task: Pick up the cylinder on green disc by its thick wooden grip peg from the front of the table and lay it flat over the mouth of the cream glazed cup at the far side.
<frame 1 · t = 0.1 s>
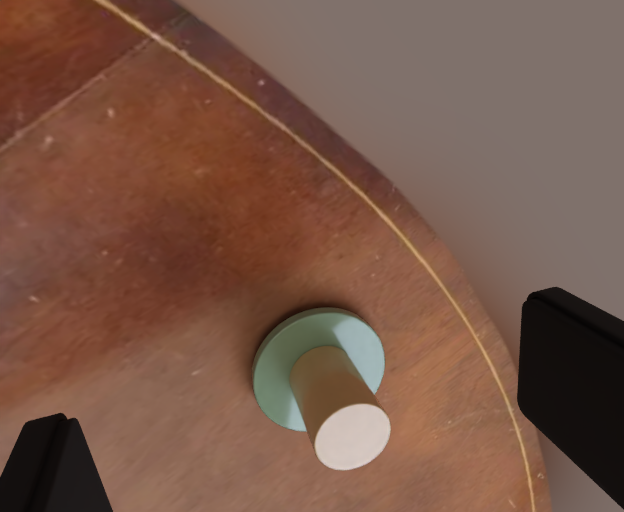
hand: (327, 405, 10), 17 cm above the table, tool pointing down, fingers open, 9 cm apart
cylinder on green disc: (318, 367, 29), point 1 cm above the table
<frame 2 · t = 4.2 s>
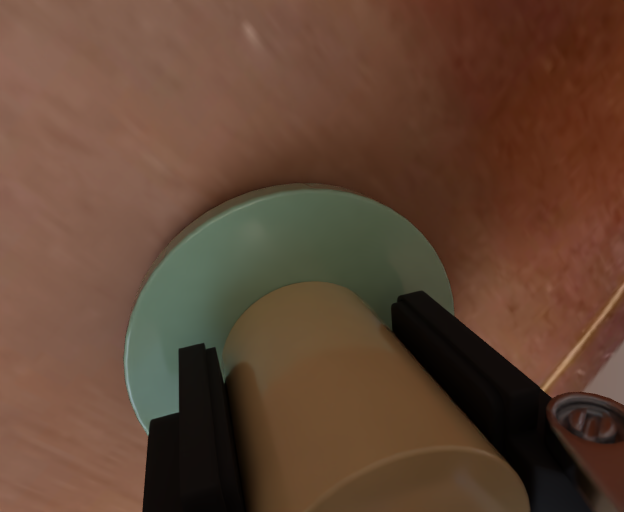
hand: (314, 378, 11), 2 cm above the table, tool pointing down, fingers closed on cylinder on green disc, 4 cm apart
cylinder on green disc: (296, 340, 12), point 1 cm above the table, touching gripper
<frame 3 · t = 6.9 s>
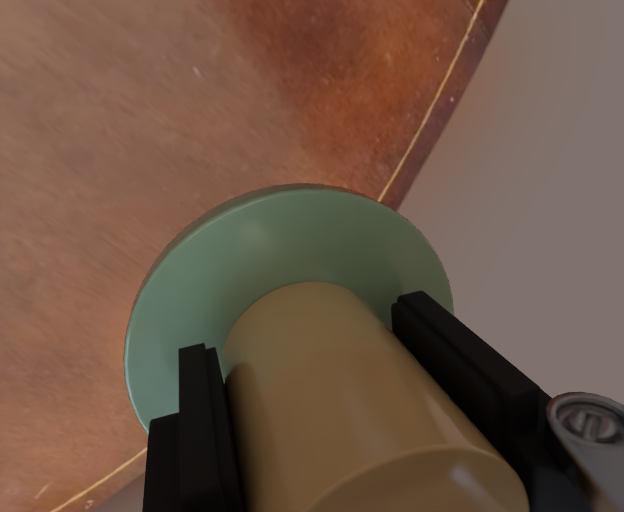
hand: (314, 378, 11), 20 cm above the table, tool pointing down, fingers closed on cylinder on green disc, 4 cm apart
cylinder on green disc: (296, 340, 12), point 19 cm above the table, touching gripper
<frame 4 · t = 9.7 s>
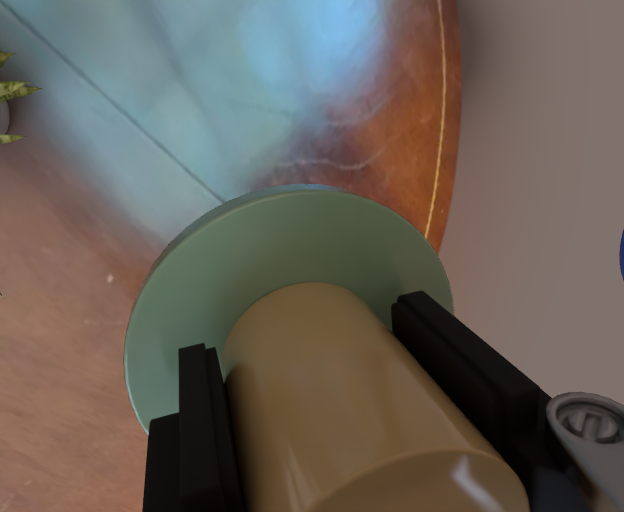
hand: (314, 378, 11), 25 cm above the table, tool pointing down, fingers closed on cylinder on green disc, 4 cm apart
cylinder on green disc: (296, 341, 12), point 24 cm above the table, touching gripper
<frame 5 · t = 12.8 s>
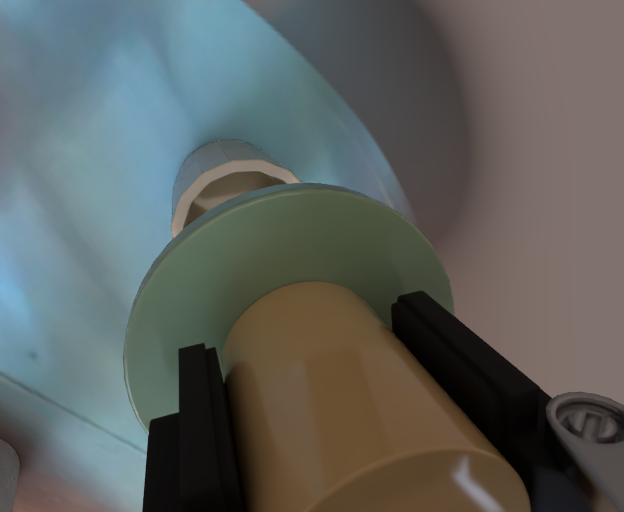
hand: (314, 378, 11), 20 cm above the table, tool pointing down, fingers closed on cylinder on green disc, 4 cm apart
cup: (230, 195, 29), on the table
cylinder on green disc: (296, 340, 12), point 18 cm above the table, touching gripper
when the fingers open (10 cm above the table, at t = 15.4 s): cylinder on green disc stays where it is, resting on cup.
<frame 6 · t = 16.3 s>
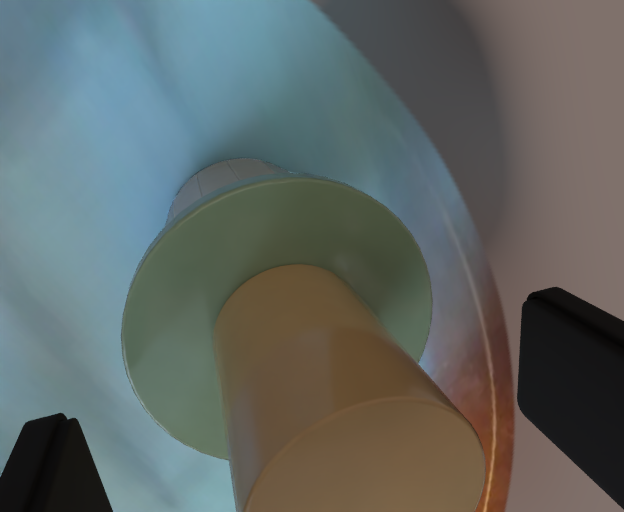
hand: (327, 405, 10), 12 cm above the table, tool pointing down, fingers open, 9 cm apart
cup: (244, 234, 21), on the table
cylinder on green disc: (284, 321, 13), point 8 cm above the table, touching cup
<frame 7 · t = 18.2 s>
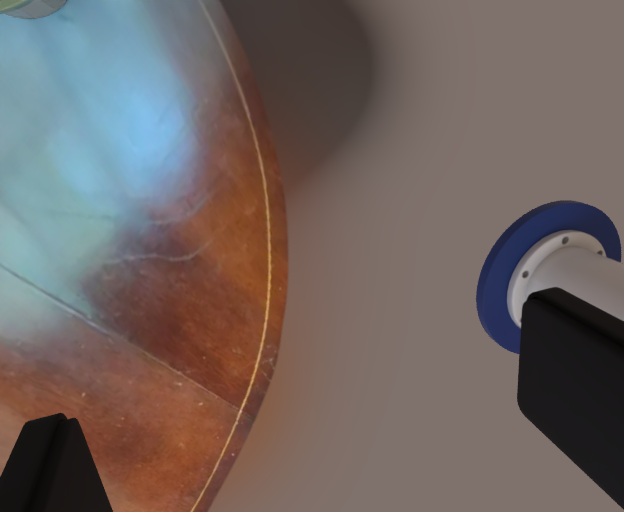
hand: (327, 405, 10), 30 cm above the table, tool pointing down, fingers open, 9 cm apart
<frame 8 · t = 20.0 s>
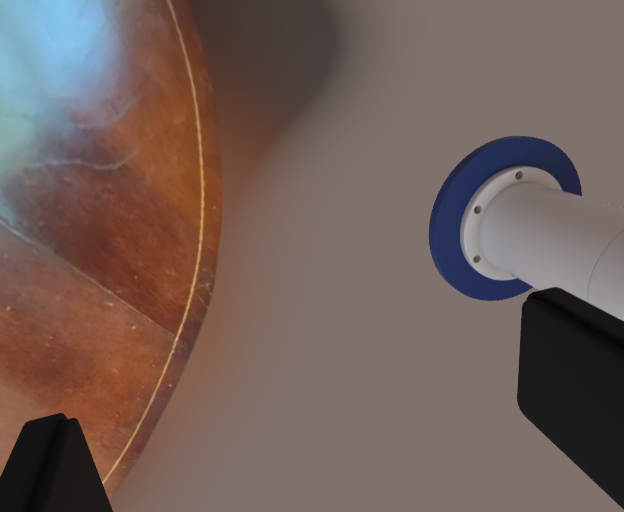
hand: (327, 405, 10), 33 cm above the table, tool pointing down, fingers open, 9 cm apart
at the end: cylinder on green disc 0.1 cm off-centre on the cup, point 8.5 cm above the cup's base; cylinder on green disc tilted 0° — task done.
